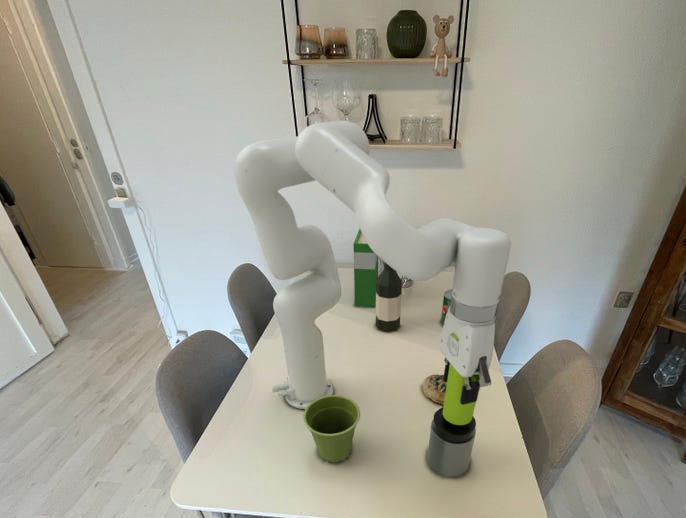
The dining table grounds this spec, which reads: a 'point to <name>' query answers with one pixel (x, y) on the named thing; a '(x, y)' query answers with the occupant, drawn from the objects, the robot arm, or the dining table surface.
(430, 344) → the dining table surface
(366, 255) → the hardback book
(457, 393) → the soap dispenser
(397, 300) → the wine bottle
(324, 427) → the plant pot
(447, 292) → the canned tomato
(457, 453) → the grey and black cylinder
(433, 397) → the bread roll
